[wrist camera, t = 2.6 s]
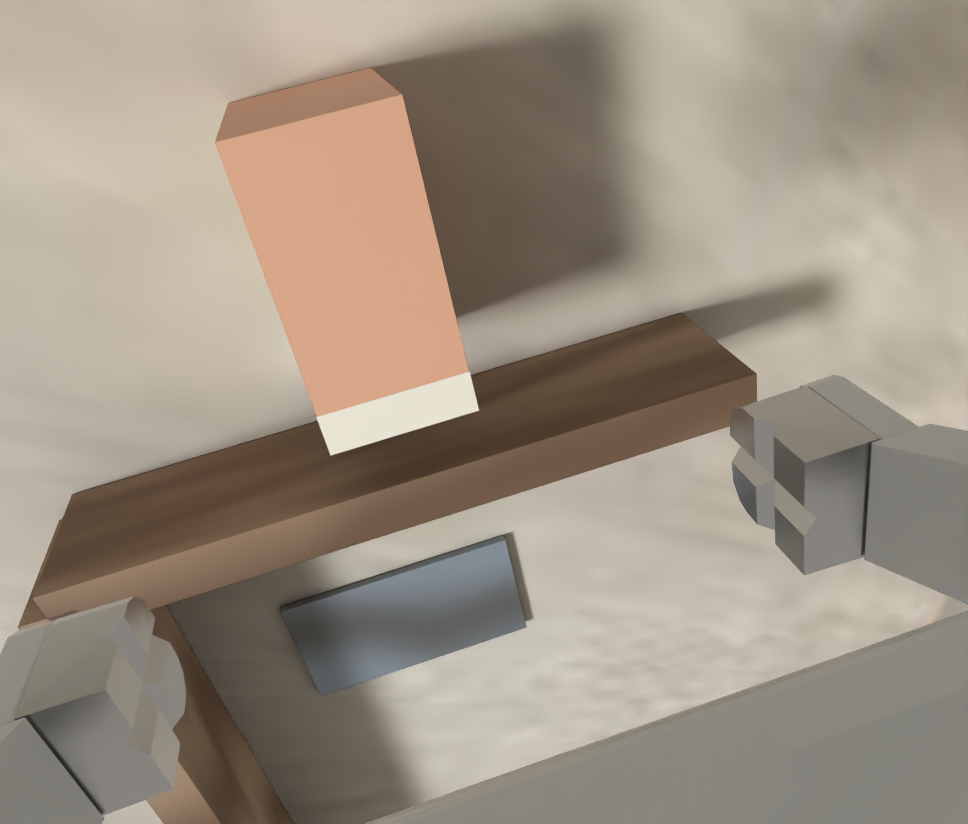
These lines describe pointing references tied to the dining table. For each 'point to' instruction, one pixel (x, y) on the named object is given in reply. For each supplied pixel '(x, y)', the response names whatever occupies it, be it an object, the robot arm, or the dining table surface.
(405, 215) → the block
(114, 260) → the dining table surface
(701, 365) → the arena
